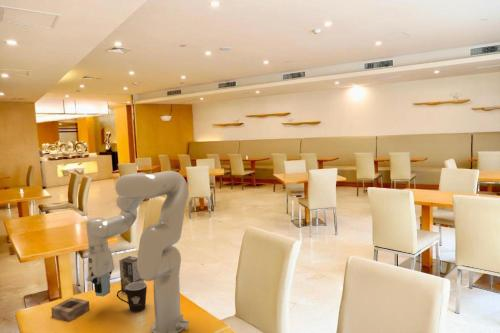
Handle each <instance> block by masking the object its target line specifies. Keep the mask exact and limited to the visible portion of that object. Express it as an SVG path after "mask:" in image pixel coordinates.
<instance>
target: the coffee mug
mask: <svg viewBox="0 0 500 333" xmlns="http://www.w3.org/2000/svg"><path fill="white" fill-rule="evenodd" d="M147 287H148V283H147V282H146V281H145V282H134V283H130V284H128V285H127V286H126V291H125V290H121V289H120V290H118V291H117V293H116V297H117V299H119V300H121V302H124V303H126V304H127V305H128V308H129V311H130V312H131V313H139V312H142V311H144V310H145V309H146V300H147ZM121 291H123V292H125V293H126V294H125V295H126V297H127V300H125V299H123V298H121V297H120V296H119V293H122V292H121Z"/></svg>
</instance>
